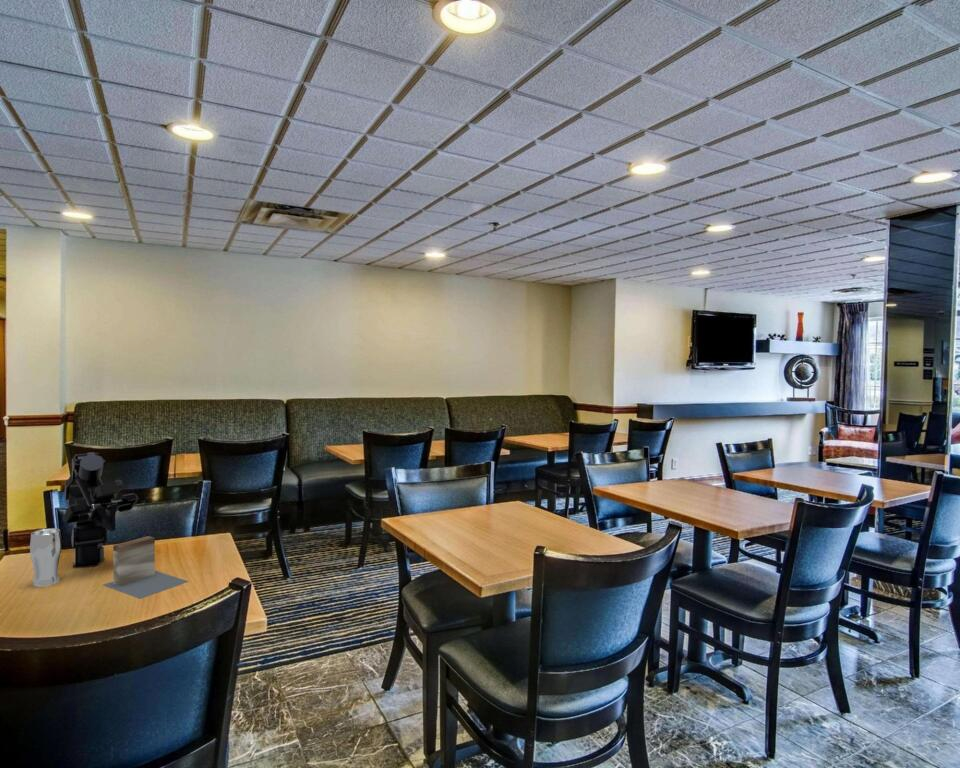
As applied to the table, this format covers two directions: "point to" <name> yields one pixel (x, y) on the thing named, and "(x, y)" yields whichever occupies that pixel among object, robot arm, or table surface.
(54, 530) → the beer glass
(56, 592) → the table surface
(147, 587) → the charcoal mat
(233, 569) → the table surface
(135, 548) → the grey-brown flat block
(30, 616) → the table surface
